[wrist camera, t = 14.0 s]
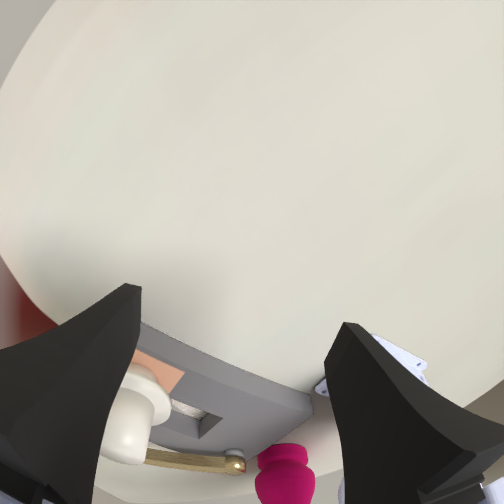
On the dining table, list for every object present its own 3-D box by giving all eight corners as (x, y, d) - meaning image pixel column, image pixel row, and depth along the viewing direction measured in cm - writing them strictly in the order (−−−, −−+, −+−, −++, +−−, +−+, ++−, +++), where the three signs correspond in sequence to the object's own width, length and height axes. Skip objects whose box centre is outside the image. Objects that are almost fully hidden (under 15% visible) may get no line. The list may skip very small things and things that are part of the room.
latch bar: (246, 456, 26) (246, 467, 25) (244, 464, 27) (245, 475, 26) (89, 433, 25) (85, 443, 24) (95, 443, 26) (92, 452, 25)
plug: (187, 372, 22) (176, 453, 15) (160, 409, 24) (147, 478, 17) (110, 337, 20) (77, 413, 14) (94, 380, 22) (69, 447, 16)
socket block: (309, 394, 27) (314, 421, 24) (235, 451, 32) (235, 473, 29) (120, 310, 22) (106, 336, 19) (87, 393, 27) (77, 415, 24)
